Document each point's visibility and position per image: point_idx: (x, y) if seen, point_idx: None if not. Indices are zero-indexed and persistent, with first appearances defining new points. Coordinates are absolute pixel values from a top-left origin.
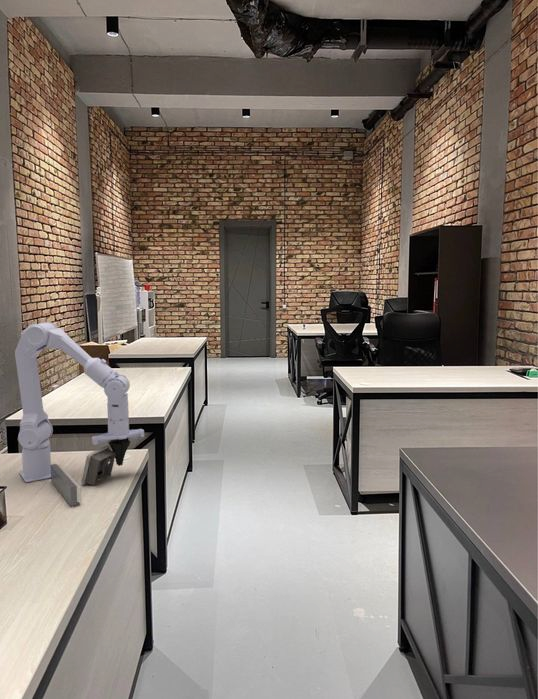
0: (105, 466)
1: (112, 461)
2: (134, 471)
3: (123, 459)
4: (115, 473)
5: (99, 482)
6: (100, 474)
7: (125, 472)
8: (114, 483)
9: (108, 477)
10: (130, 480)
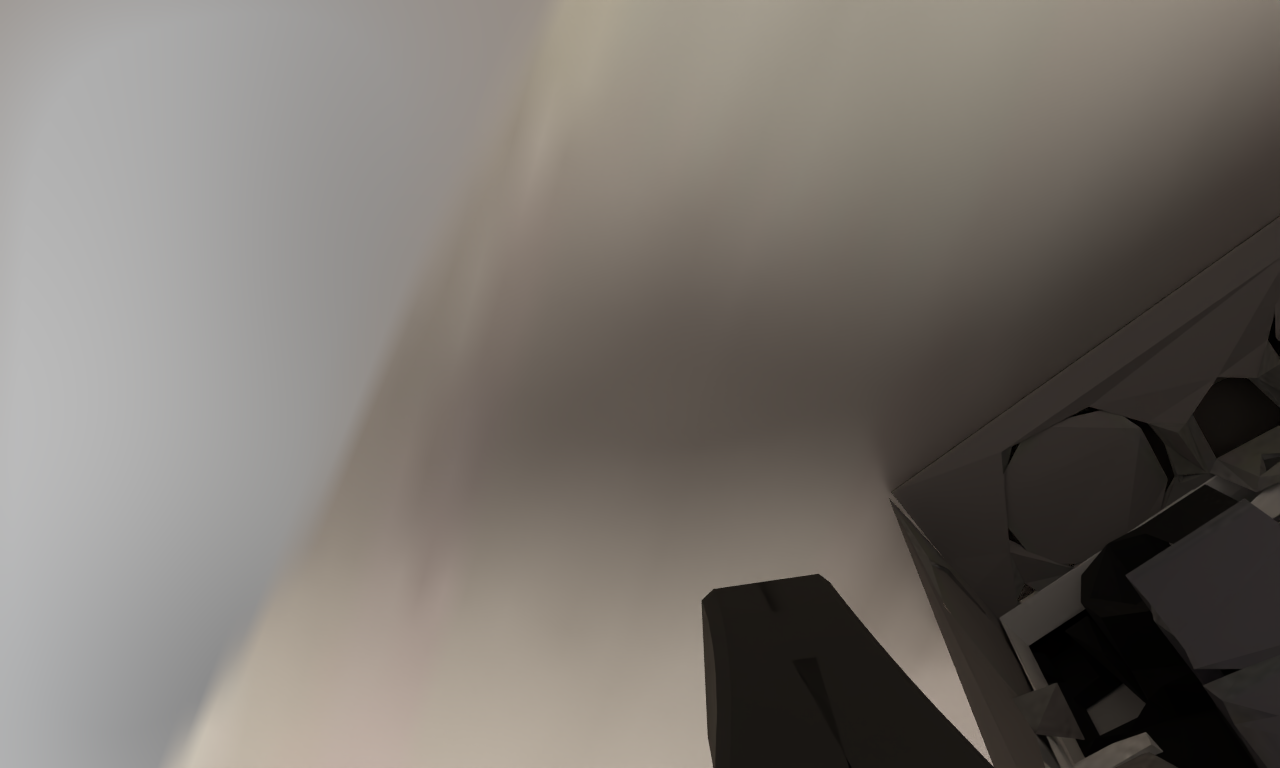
0: (1178, 625)
1: (1011, 754)
2: (305, 590)
3: (723, 718)
4: None
5: (1246, 251)
6: (1140, 534)
7: (515, 601)
8: (997, 27)
9: (950, 454)
10: (545, 42)
